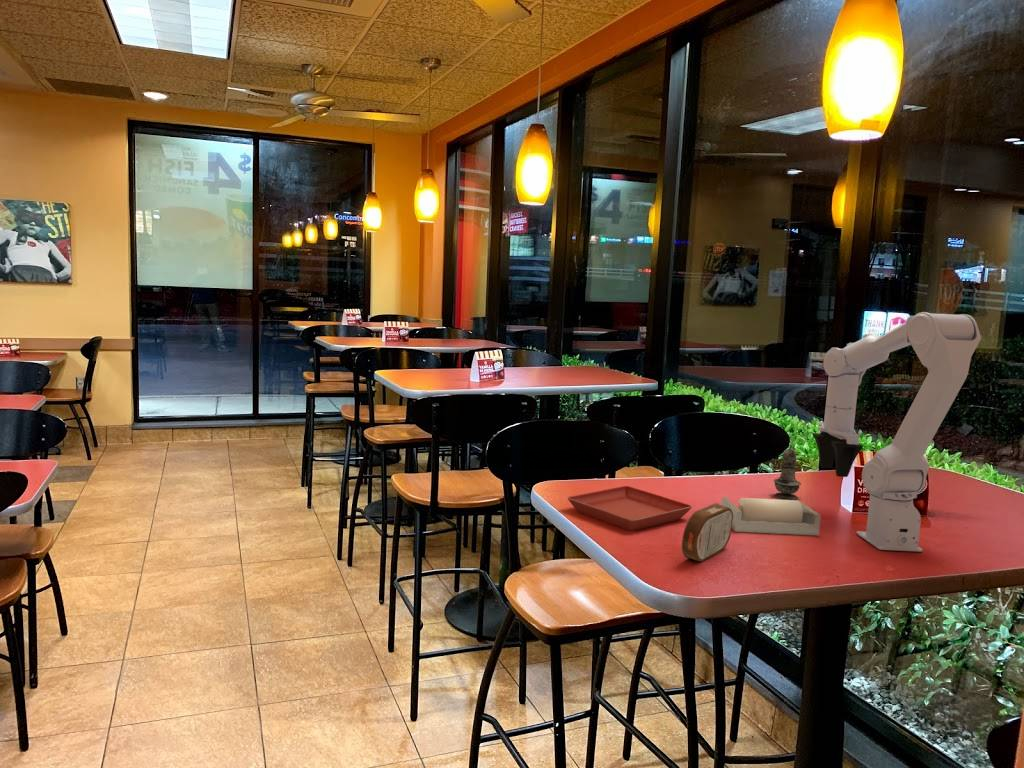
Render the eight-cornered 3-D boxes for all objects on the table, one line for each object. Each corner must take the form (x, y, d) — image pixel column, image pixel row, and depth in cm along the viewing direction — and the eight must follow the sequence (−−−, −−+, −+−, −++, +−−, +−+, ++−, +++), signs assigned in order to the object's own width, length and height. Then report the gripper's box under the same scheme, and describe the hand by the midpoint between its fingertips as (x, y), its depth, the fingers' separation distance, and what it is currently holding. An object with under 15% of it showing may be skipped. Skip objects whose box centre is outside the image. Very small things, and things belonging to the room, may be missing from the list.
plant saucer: (631, 536, 141) (633, 519, 140) (564, 512, 154) (565, 496, 154) (693, 522, 152) (694, 505, 152) (625, 500, 166) (626, 485, 166)
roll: (803, 528, 148) (804, 502, 148) (743, 525, 148) (744, 499, 148) (793, 523, 153) (795, 498, 153) (735, 520, 153) (737, 495, 153)
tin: (717, 543, 138) (721, 498, 137) (733, 547, 136) (737, 501, 135) (678, 563, 127) (682, 514, 126) (695, 568, 125) (699, 518, 124)
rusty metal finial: (795, 494, 176) (800, 443, 175) (802, 501, 170) (808, 448, 169) (769, 492, 177) (774, 441, 175) (775, 499, 171) (780, 446, 170)
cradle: (818, 535, 146) (820, 515, 145) (734, 531, 146) (736, 511, 145) (798, 519, 156) (800, 500, 155) (720, 516, 156) (721, 497, 155)
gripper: (807, 401, 164) (801, 463, 166) (836, 411, 150) (829, 479, 151) (840, 402, 164) (833, 464, 166) (872, 413, 150) (864, 481, 152)
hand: (833, 471), depth 159 cm, fingers open, 7 cm apart
